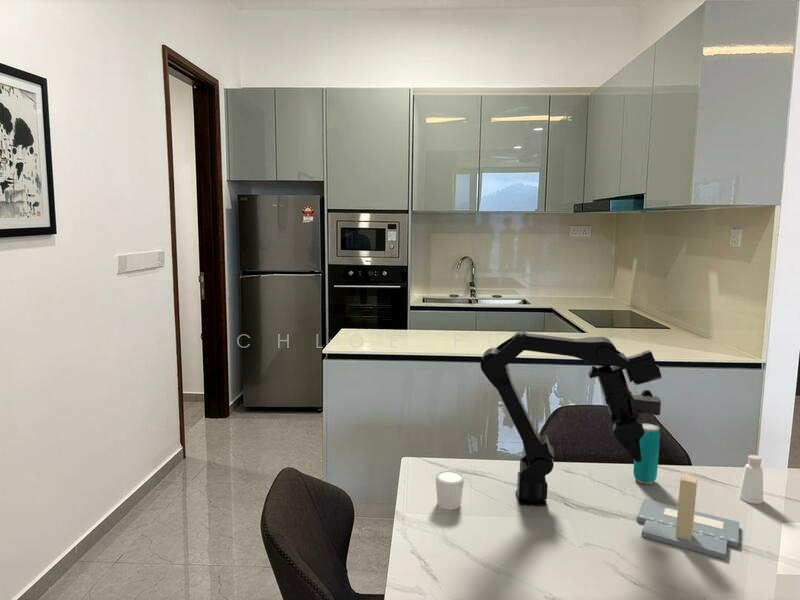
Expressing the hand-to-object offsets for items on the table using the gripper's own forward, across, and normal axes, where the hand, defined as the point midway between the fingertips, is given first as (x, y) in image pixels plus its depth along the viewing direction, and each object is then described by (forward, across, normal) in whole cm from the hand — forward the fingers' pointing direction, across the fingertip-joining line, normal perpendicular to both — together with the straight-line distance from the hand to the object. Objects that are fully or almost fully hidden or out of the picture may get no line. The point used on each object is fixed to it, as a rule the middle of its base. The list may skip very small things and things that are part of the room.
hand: (637, 454), depth 133 cm
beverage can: (+15, +20, +1) cm, 25 cm away
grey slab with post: (+17, -9, -4) cm, 20 cm away
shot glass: (-1, -9, +45) cm, 45 cm away
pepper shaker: (+23, +18, -22) cm, 37 cm away
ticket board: (+18, -1, -6) cm, 19 cm away
